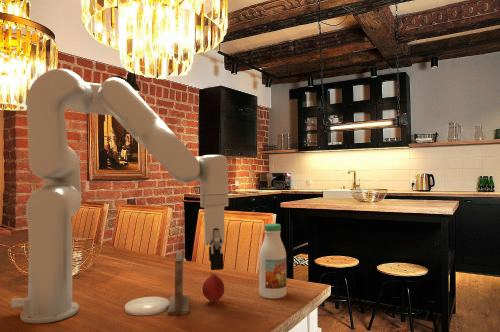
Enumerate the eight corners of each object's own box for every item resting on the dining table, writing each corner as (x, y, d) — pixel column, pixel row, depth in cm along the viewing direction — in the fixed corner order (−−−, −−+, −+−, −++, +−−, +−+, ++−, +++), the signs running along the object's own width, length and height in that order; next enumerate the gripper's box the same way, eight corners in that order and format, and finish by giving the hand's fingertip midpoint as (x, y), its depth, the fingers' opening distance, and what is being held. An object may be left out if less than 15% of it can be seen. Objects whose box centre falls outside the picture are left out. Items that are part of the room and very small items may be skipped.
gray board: (167, 315, 91) (167, 261, 91) (170, 298, 103) (170, 251, 103) (188, 313, 91) (188, 260, 92) (189, 297, 103) (189, 250, 104)
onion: (213, 297, 103) (213, 268, 104) (228, 302, 100) (229, 272, 100) (198, 303, 99) (198, 272, 99) (213, 308, 95) (213, 276, 95)
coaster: (121, 316, 90) (121, 312, 90) (129, 301, 100) (129, 297, 100) (167, 314, 91) (167, 310, 91) (170, 299, 102) (170, 295, 102)
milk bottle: (255, 297, 104) (255, 225, 104) (264, 289, 111) (264, 222, 111) (282, 300, 101) (281, 226, 101) (289, 292, 108) (289, 223, 108)
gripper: (199, 199, 108) (201, 258, 108) (200, 204, 91) (202, 274, 91) (225, 198, 109) (227, 257, 109) (231, 202, 92) (233, 272, 92)
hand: (216, 264), depth 100 cm, fingers open, 9 cm apart
